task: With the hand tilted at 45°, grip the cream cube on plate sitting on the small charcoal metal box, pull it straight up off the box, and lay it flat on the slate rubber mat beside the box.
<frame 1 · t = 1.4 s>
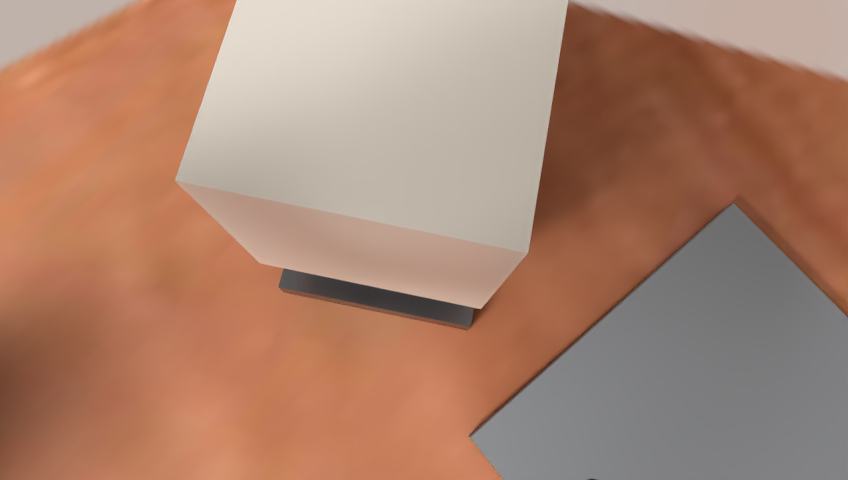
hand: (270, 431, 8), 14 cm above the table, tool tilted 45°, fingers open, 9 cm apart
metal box: (395, 223, 23), on the table
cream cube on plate: (393, 182, 19), point 4 cm above the table, touching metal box
mat: (737, 462, 21), on the table
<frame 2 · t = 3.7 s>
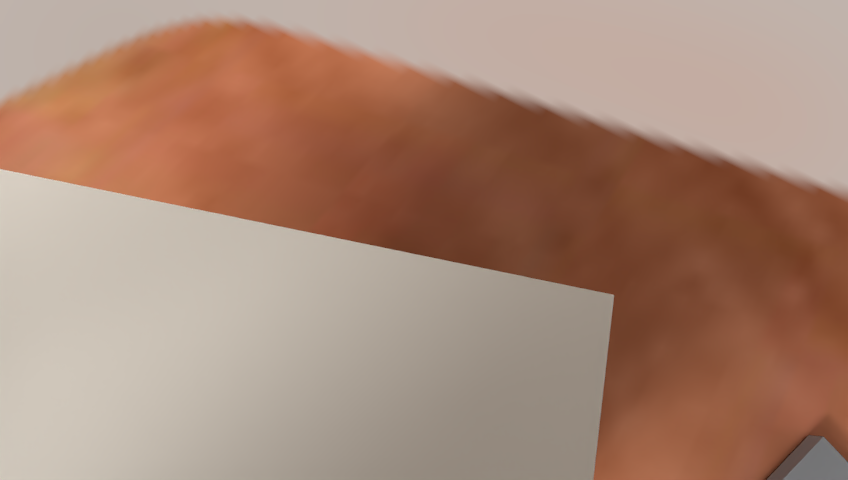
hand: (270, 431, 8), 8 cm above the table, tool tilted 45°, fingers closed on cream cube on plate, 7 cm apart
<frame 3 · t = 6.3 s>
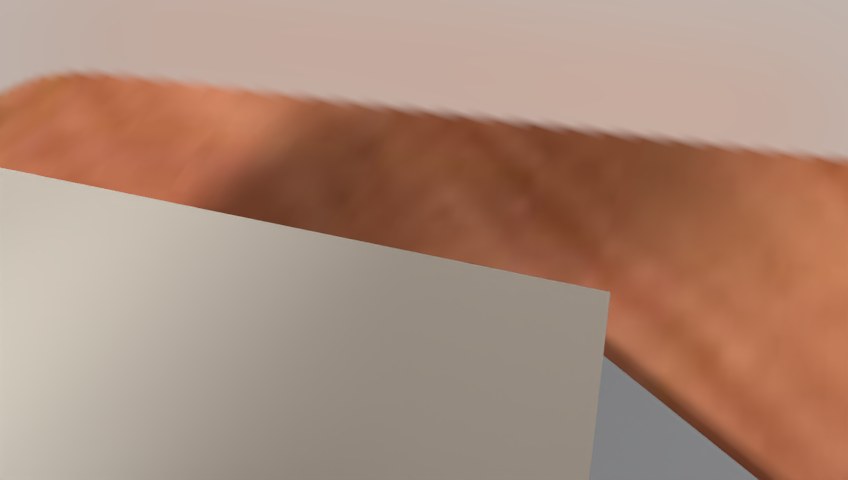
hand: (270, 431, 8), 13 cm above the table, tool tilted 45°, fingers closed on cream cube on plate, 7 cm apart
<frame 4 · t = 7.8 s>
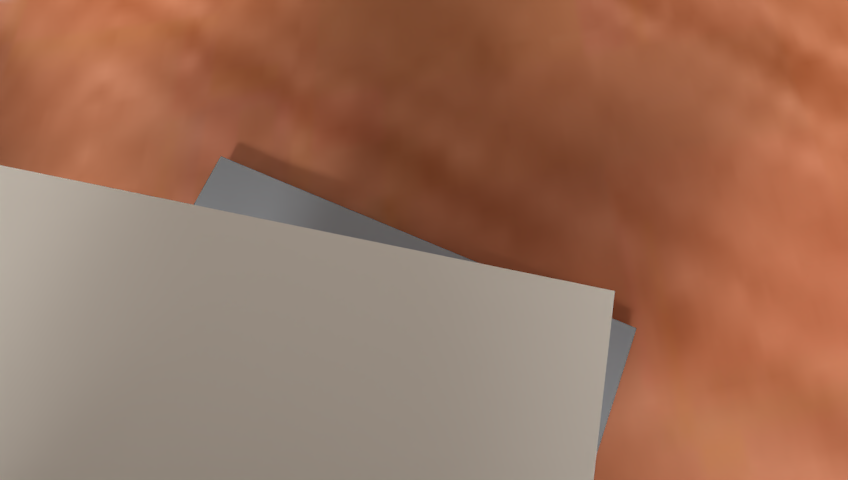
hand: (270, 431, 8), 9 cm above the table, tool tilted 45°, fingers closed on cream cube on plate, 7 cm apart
mat: (329, 459, 17), on the table
when the fingers open (7 cm above the table, at t = 8.8 s): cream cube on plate drops 3 cm, resting on mat.
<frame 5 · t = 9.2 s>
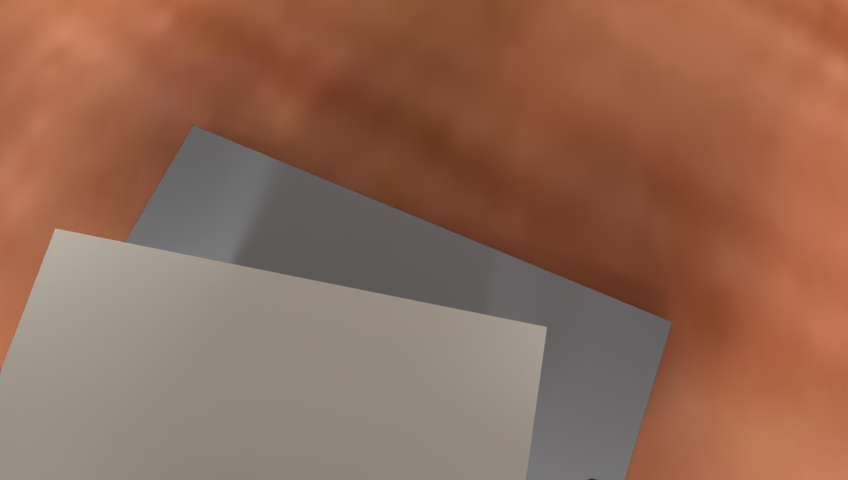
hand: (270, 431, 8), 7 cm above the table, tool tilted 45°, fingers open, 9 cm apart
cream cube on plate: (312, 477, 14), point 1 cm above the table, touching mat
mat: (315, 474, 15), on the table
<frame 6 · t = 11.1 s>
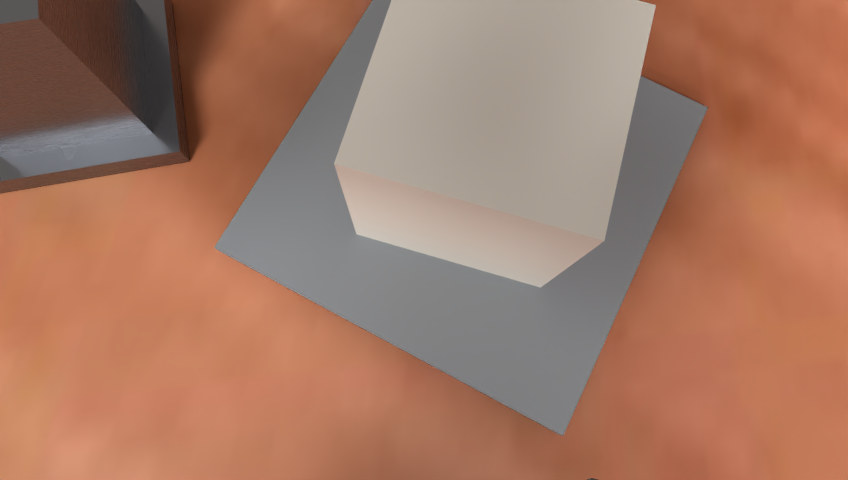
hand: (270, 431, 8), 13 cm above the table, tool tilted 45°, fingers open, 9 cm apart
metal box: (88, 93, 23), on the table
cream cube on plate: (472, 174, 22), point 1 cm above the table, touching mat
mat: (470, 179, 23), on the table
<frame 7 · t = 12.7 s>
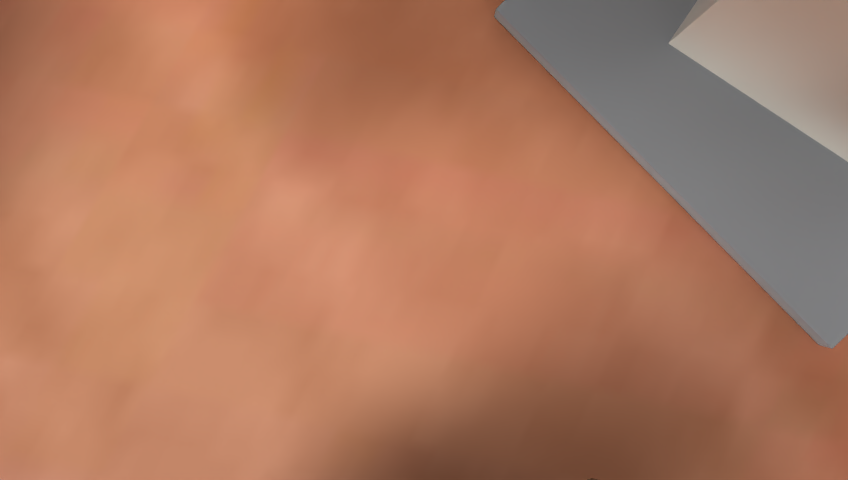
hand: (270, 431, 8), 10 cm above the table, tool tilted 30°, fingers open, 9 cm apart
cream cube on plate: (836, 9, 17), point 1 cm above the table, touching mat
mat: (822, 17, 18), on the table
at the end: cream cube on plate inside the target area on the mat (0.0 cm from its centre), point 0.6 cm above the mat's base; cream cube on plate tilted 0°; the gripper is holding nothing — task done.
